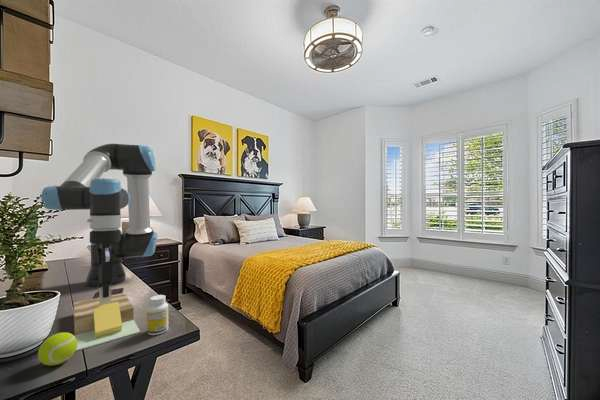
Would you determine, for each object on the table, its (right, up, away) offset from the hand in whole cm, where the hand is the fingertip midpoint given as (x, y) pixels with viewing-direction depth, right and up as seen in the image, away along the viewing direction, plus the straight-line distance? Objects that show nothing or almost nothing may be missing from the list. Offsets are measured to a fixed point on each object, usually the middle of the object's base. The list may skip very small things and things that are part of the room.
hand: (105, 307), depth 78 cm
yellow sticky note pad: (+3, -3, -3) cm, 5 cm away
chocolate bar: (-16, -6, +23) cm, 29 cm away
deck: (-5, -6, +5) cm, 9 cm away
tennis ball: (+3, -5, -19) cm, 20 cm away
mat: (+5, -5, -6) cm, 9 cm away
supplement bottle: (+18, -6, -4) cm, 19 cm away
